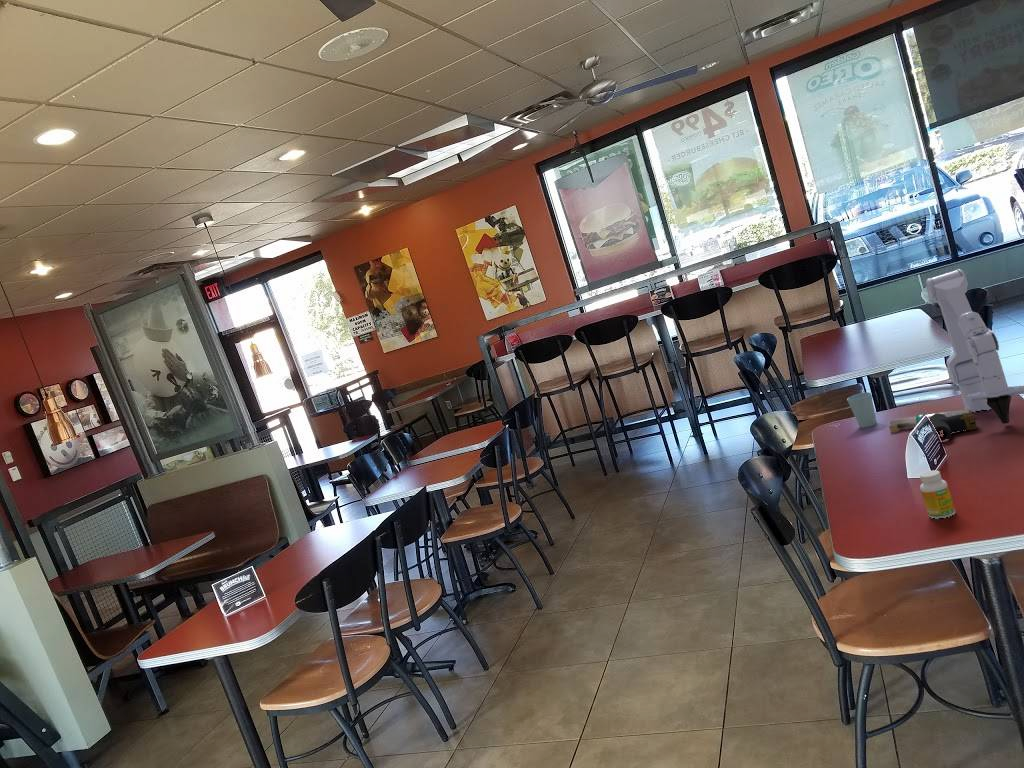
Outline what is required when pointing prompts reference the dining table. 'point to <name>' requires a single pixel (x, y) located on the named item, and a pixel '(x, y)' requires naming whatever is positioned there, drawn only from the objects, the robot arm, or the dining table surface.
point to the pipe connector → (952, 423)
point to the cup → (863, 409)
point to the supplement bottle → (936, 495)
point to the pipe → (912, 421)
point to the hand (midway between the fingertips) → (1006, 422)
